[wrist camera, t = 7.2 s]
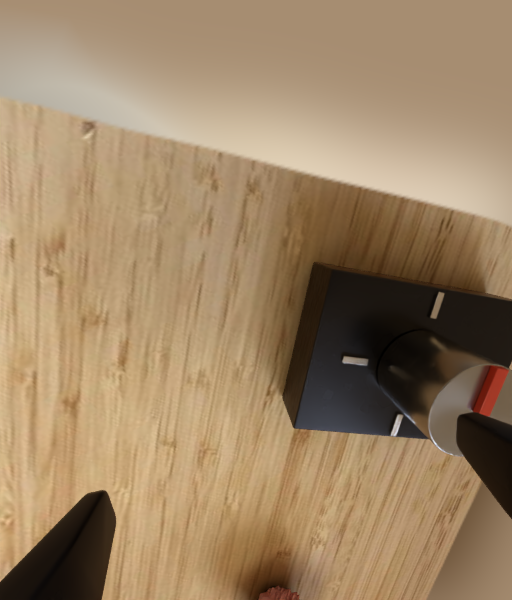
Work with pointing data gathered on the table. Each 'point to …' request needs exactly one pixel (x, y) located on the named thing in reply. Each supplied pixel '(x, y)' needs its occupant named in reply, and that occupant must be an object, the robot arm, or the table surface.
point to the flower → (278, 594)
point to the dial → (443, 385)
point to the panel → (377, 344)
